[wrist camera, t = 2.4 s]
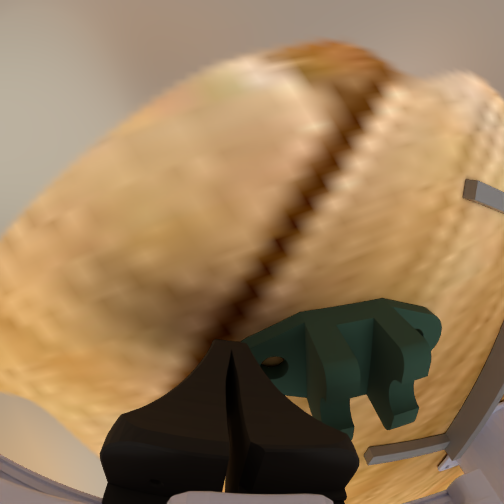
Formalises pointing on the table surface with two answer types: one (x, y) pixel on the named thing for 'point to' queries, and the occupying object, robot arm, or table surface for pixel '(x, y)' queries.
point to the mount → (352, 358)
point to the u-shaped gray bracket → (483, 393)
